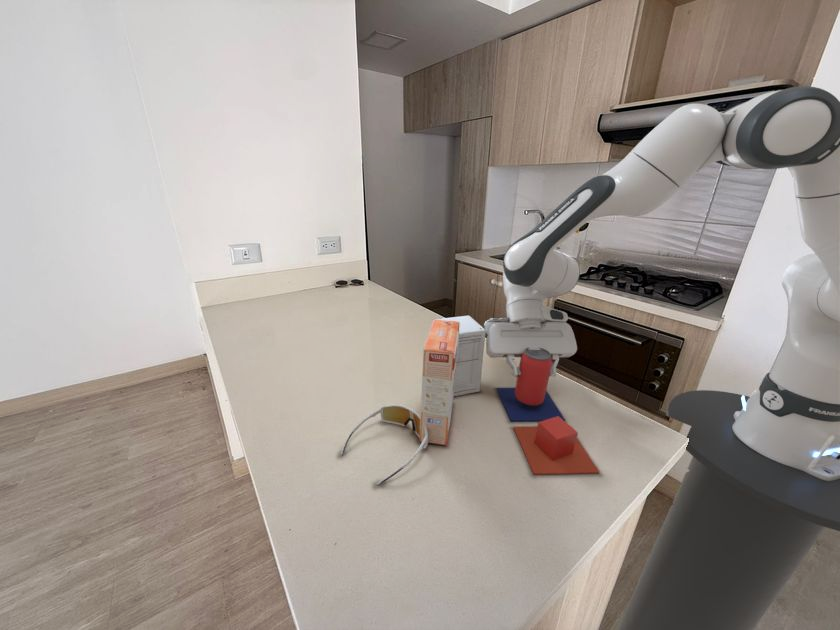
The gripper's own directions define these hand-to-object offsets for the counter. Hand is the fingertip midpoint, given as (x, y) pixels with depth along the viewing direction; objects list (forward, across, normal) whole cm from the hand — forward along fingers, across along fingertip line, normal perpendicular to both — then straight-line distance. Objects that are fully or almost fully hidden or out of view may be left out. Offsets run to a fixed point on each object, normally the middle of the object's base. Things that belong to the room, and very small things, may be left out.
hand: (534, 376), depth 76 cm
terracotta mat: (+15, 0, -4) cm, 16 cm away
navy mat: (+5, 0, +6) cm, 8 cm away
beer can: (+4, 0, +5) cm, 7 cm away
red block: (+15, 0, -4) cm, 15 cm away
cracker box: (+9, -22, +2) cm, 24 cm away
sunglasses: (+14, -32, -3) cm, 35 cm away
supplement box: (0, -16, +12) cm, 20 cm away
